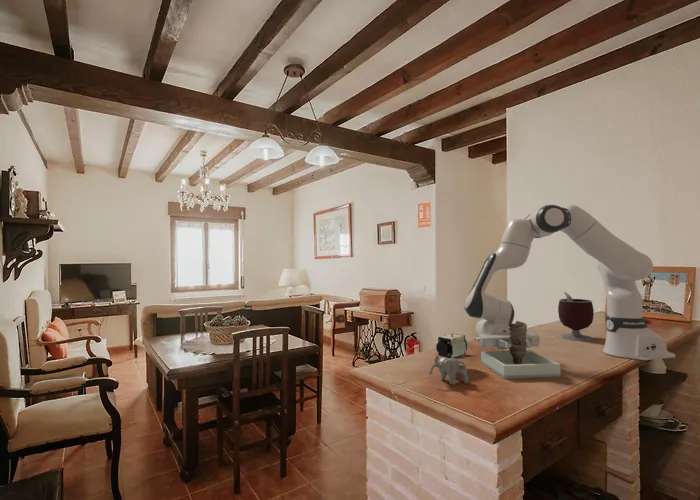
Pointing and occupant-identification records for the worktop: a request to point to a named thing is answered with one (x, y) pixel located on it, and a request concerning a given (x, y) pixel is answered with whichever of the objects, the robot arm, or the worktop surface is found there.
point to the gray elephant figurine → (450, 369)
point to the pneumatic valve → (451, 345)
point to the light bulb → (517, 341)
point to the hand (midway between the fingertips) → (519, 345)
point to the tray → (520, 365)
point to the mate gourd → (575, 316)
